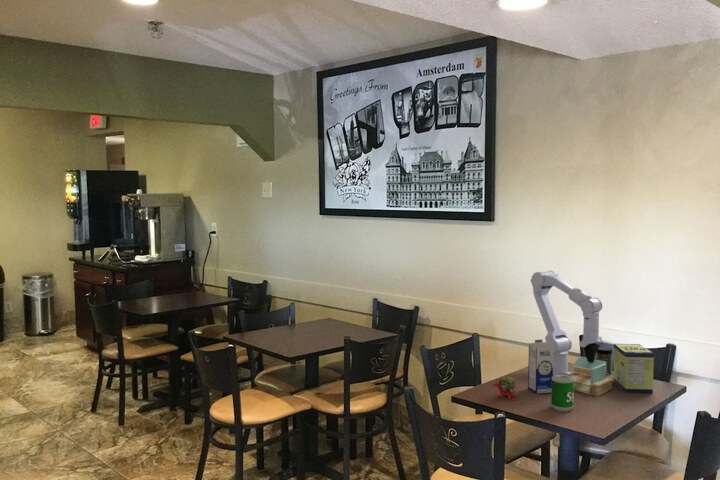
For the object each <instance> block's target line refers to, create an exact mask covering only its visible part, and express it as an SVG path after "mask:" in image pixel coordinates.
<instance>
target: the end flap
mask: <svg viewBox="0 0 720 480" xmlns="http://www.w3.org/2000/svg"><path fill="white" fill-rule="evenodd" d="M607 375H608V374H607V364H602V365H599V366H597V367H594V368H592V369H591V375H590V376H591V383H590V385H594V386H600V385H602V384H605V383H607V382H609V381H611V380H612V381H613V378H610V377H607Z"/></svg>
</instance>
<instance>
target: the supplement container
mask: <svg viewBox="0 0 720 480" xmlns="http://www.w3.org/2000/svg"><path fill="white" fill-rule="evenodd" d="M613 354H614V348H612V347H609V346H600V347H599V348H598V350H597V352H596V355H595V359H596V360H601V361H606V362H607V373H611V372H613ZM611 374H612V373H611Z"/></svg>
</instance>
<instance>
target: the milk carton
mask: <svg viewBox="0 0 720 480" xmlns="http://www.w3.org/2000/svg"><path fill="white" fill-rule="evenodd" d="M553 343H554V342H546V341H543V339H534V342H530V343H528V365H527V366H528V375H527V380H528V381H527V389H528V390H529V391H530V392H532V393H534V394H535V395H543V394H551V389H552V376H554V375H553Z"/></svg>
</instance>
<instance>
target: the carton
mask: <svg viewBox="0 0 720 480" xmlns="http://www.w3.org/2000/svg"><path fill="white" fill-rule="evenodd" d="M570 375H571V376H572V377H573V378H574V392H575V391H576V392H579V393H584V394H587V395H591V396H595V397H599V396H601V395H602V394H605V393H607V392H609V391H611V390H612V389H613V379H612V380H611V381H609V382H607V383H605V384H602V385H600V386H594V385H590V383H591V375H587V374H582V373H578V372H574V371H572V372H571V373H570ZM610 389H611V390H610ZM608 390H609V391H608Z"/></svg>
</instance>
